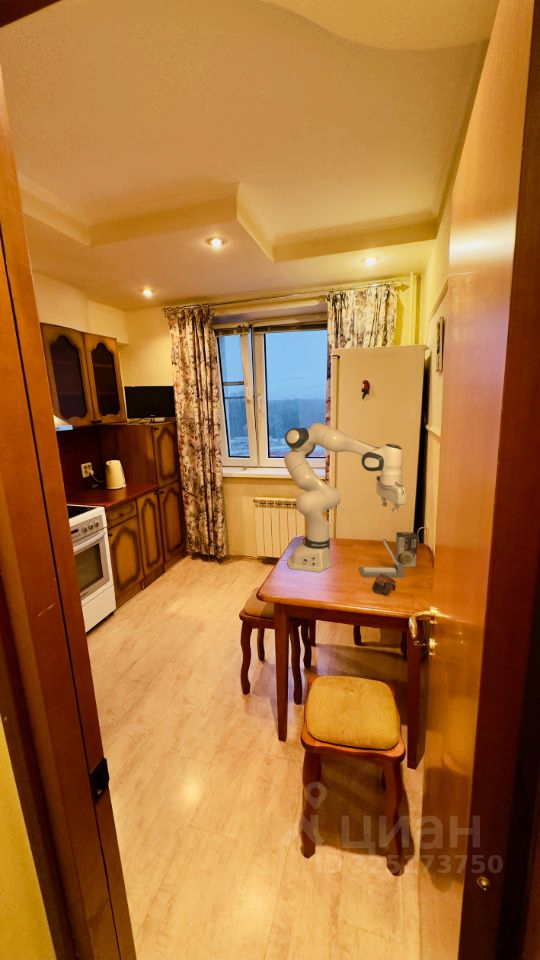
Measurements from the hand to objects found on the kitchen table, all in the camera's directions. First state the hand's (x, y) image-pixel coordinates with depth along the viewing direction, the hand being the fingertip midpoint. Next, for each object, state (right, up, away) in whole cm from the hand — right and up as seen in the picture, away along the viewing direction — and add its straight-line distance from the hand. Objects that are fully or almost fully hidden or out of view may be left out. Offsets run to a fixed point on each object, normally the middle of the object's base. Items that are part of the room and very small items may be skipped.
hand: (389, 509), depth 167 cm
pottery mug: (-5, -36, -9) cm, 37 cm away
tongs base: (-2, -31, +7) cm, 32 cm away
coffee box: (+13, -29, +16) cm, 36 cm away
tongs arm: (+2, -22, +4) cm, 23 cm away
